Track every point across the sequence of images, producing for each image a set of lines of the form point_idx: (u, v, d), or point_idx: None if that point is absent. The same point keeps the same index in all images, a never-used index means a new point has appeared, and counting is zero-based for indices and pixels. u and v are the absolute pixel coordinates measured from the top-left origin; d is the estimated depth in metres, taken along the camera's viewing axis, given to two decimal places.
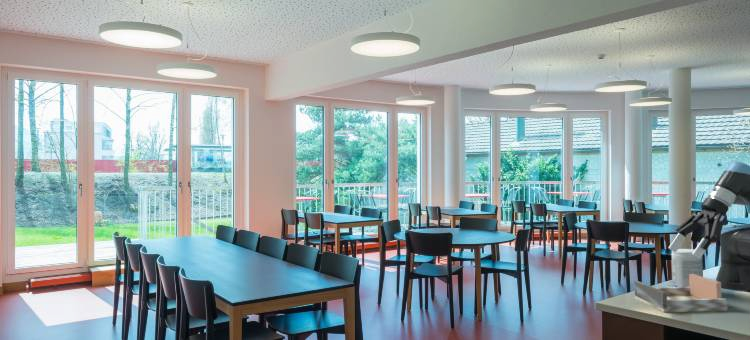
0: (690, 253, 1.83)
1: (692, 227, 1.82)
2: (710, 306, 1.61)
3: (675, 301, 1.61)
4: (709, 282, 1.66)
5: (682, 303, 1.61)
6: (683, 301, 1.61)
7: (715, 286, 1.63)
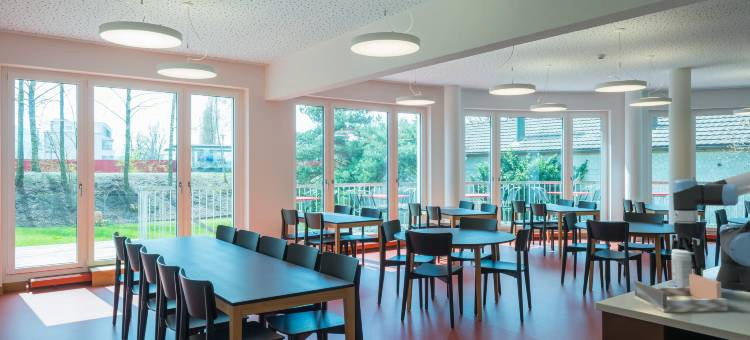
0: (690, 253, 1.83)
1: None
2: (710, 306, 1.61)
3: (675, 301, 1.61)
4: (709, 282, 1.66)
5: (682, 303, 1.61)
6: (683, 301, 1.61)
7: (715, 286, 1.63)
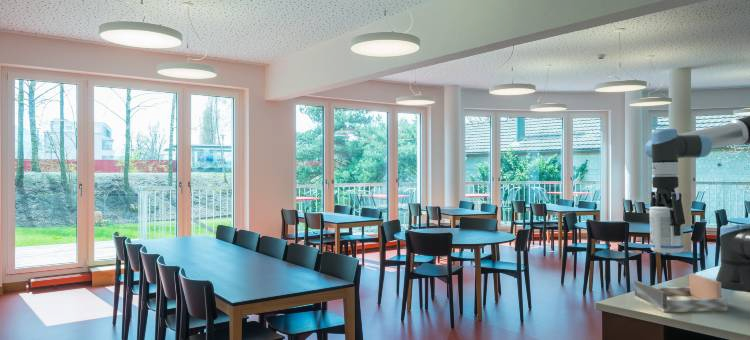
0: (669, 209, 1.66)
1: None
2: (710, 306, 1.61)
3: (675, 301, 1.61)
4: (709, 282, 1.66)
5: (682, 303, 1.61)
6: (683, 301, 1.61)
7: (715, 286, 1.63)
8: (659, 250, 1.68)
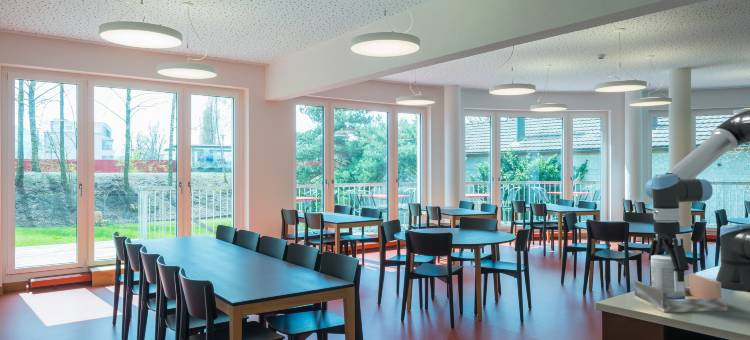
0: (670, 260, 1.66)
1: (660, 253, 1.74)
2: (710, 306, 1.61)
3: (675, 301, 1.61)
4: (709, 282, 1.66)
5: (682, 303, 1.61)
6: (683, 301, 1.61)
7: (715, 286, 1.63)
8: None
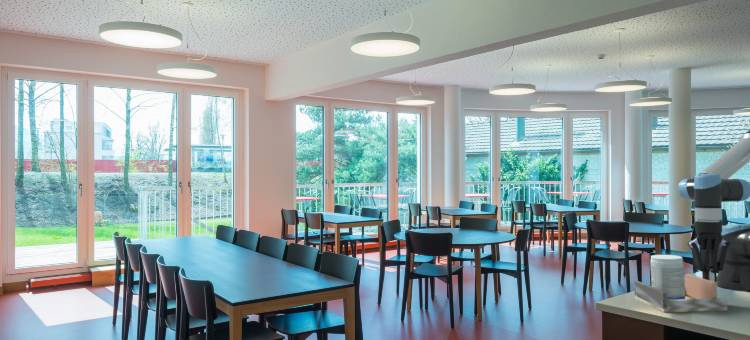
0: (670, 260, 1.66)
1: (711, 256, 1.70)
2: (710, 306, 1.61)
3: (675, 301, 1.61)
4: (705, 282, 1.66)
5: (682, 303, 1.61)
6: (683, 301, 1.61)
7: (711, 286, 1.63)
8: None
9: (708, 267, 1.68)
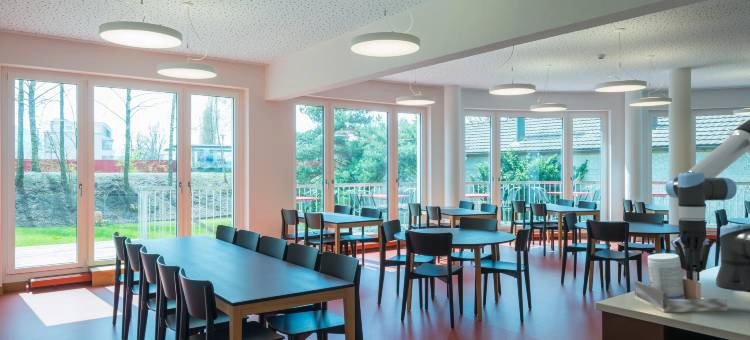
0: (667, 259, 1.66)
1: (694, 255, 1.69)
2: (710, 306, 1.61)
3: (675, 301, 1.61)
4: (689, 283, 1.66)
5: (682, 303, 1.61)
6: (683, 301, 1.61)
7: (695, 287, 1.63)
8: None
9: (692, 266, 1.68)
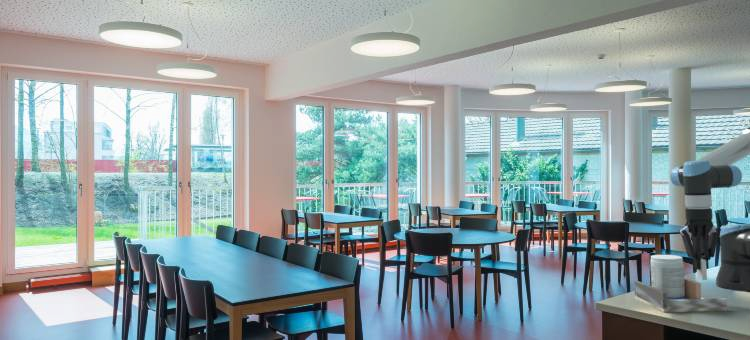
0: (670, 260, 1.66)
1: (702, 243, 1.70)
2: (710, 306, 1.61)
3: (675, 301, 1.61)
4: (689, 283, 1.66)
5: (682, 303, 1.61)
6: (683, 301, 1.61)
7: (695, 287, 1.63)
8: None
9: (700, 254, 1.69)
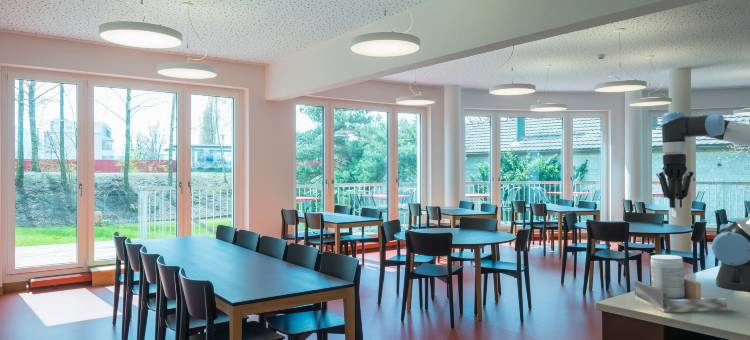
0: (670, 260, 1.66)
1: (677, 185, 1.93)
2: (710, 306, 1.61)
3: (675, 301, 1.61)
4: (689, 283, 1.66)
5: (682, 303, 1.61)
6: (683, 301, 1.61)
7: (695, 287, 1.63)
8: None
9: (674, 194, 1.92)
